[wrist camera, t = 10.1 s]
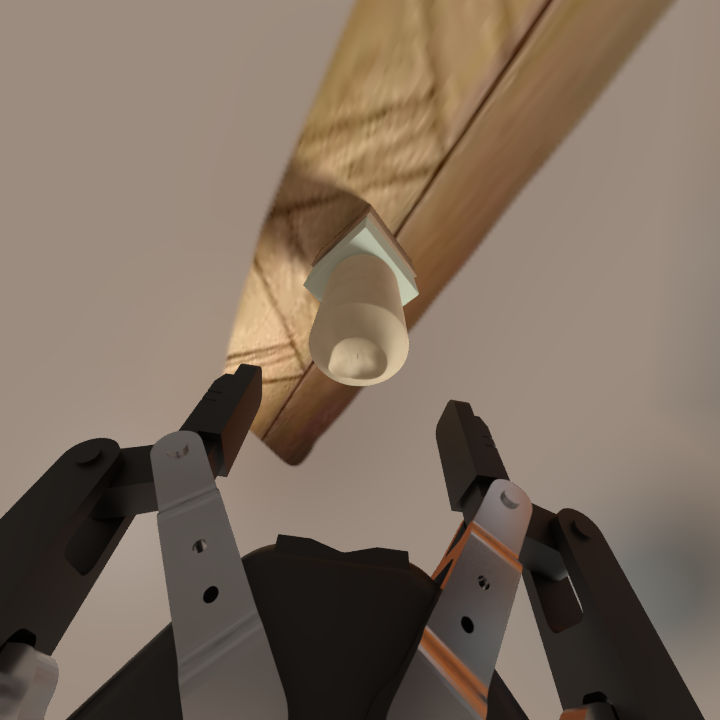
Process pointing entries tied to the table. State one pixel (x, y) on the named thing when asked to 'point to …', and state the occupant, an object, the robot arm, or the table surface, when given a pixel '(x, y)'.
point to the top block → (362, 242)
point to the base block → (381, 228)
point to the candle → (360, 323)
